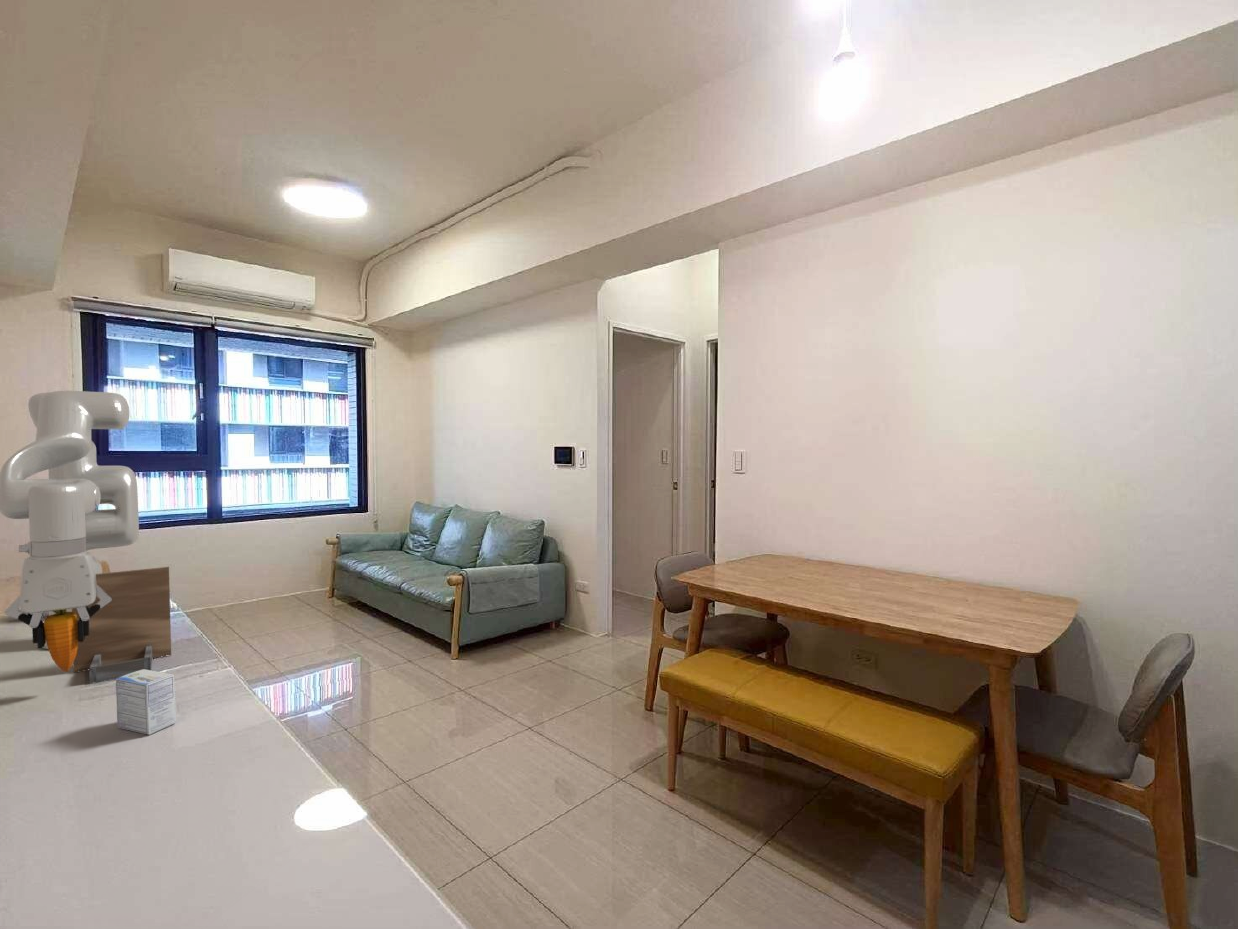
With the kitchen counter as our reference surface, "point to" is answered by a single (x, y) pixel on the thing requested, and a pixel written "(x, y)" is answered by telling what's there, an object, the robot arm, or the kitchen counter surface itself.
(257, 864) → the kitchen counter surface
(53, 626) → the carrot
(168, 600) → the wall holder
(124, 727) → the medicine box
